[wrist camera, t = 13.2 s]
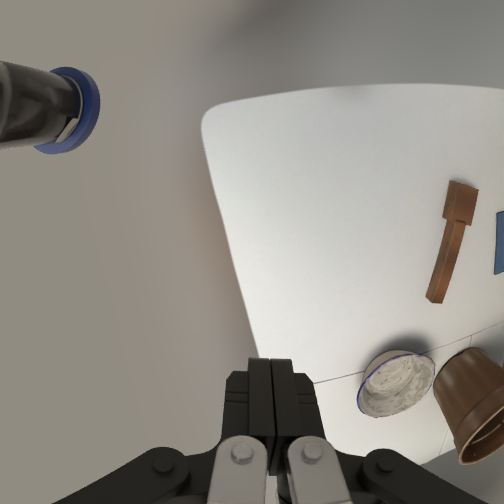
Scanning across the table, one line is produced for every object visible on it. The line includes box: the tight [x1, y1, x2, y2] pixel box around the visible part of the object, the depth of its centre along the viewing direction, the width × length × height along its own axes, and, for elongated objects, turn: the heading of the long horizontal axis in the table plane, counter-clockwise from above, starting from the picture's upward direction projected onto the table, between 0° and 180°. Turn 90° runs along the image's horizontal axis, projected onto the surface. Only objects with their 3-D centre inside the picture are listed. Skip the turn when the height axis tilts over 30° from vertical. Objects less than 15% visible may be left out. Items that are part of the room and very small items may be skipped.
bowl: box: [357, 350, 435, 418], centre depth 42 cm, size 13×13×5 cm
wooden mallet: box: [426, 181, 479, 304], centre depth 37 cm, size 16×4×2 cm, turn 173°
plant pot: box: [433, 348, 504, 465], centre depth 38 cm, size 16×16×16 cm
